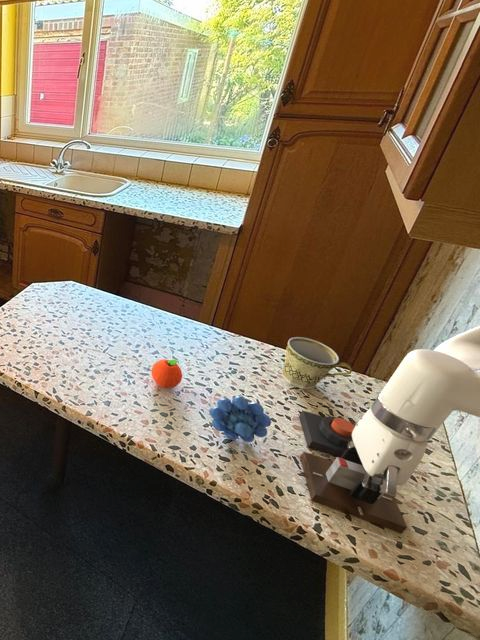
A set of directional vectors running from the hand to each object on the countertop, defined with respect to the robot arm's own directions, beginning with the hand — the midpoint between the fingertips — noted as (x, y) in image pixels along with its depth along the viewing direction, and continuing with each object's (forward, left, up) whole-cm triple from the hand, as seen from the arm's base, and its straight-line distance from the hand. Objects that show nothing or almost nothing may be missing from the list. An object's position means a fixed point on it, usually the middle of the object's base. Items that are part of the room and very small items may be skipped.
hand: (354, 481), depth 75 cm
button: (-1, -13, 0) cm, 13 cm away
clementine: (+33, -15, -4) cm, 36 cm away
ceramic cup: (+1, -31, -4) cm, 31 cm away
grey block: (0, 0, -1) cm, 1 cm away
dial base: (0, 0, -3) cm, 3 cm away
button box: (-1, -13, -3) cm, 13 cm away
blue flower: (+19, -3, -4) cm, 20 cm away
